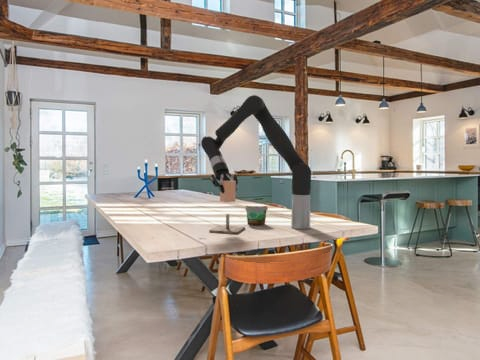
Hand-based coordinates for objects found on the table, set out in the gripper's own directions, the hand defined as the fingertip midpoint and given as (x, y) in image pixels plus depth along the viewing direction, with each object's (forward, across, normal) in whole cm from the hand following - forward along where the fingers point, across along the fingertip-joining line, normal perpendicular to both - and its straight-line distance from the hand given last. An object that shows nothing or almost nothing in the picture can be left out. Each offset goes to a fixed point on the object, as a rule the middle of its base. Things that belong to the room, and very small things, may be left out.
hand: (229, 191), depth 168 cm
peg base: (+12, 0, +15) cm, 19 cm away
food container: (+7, +20, +20) cm, 29 cm away
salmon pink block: (+2, 0, +5) cm, 5 cm away
